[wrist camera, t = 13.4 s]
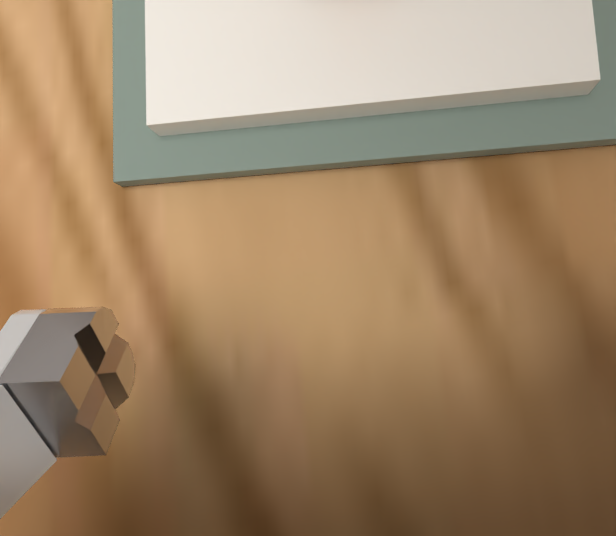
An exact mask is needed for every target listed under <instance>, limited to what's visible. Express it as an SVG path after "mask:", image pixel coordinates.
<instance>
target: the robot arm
mask: <svg viewBox="0 0 616 536" xmlns="http://www.w3.org/2000/svg"><path fill="white" fill-rule="evenodd" d="M118 325H119V323H118V321H117V319H116V317H115V315H114V314H113V312H112V310H111V309H108V308H105V307H85V308H53V309H47V310H46V309H42V310H20V311H18V312H16V313H14V314H13V315H11V317H10V318H9V319H8V321H7V322H6V324H5V325H4V327H3V328H2V330H1V331H0V519H1V518H2V517H3V516H4V515H5V514H6V512H7V511H8V510H9V509H10V508H11V507H12V506H13V505H14V504H15V503H16V502H17V501H18V500H19V499H20V498H21V497H22V496H23V495H24V494H25V493H26V492H27V491H28V490H29V489H30V488H31V487H32V486H33V485H34V484H35V483H36V481H37V480H38V479H39V478H40V477H41V476H42V475H43V474H44V473H45V472H46V471H47V470H48V469H49V468H50V467H51V466H52V465H53V464H54V463H55V462H56V461H57V459H56V457H76V456H98V455H106V454H107V452H108V449H109V447H110V444H111V442H112V439H113V437H114V434H115V431H116V429H117V426H118V424H119V421H120V419H119V416H118V414H117V411H116V408H117V407H118V406H120V405H121V404H122V403H123V402H124V401H125V400H126V399H128V398H129V396H130V393H131V390H132V387H133V385H134V378H135V361H134V356H133V352H132V350H131V348H130V346H129V344H128V342H126V341H125V340H123V339H122V338H120V337H119V336H118V335H116V334H115V332H116V330H117V327H118Z"/></svg>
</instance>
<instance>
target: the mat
mask: <svg viewBox="0 0 616 536" xmlns="http://www.w3.org/2000/svg"><path fill="white" fill-rule="evenodd" d="M592 6H593V15H594V24H595V33H596V42H597V51H598V61H599V70H600V79H601V80H600V81H599V82H598V83H597V84H596V86H595V87H594V88H593V89H592V90H591V92H590V93H589V94H588V95H579V96H569V97H559V98H548V99H538V100H528V101H518V102H507V103H497V104H487V105H476V106H466V107H456V108H446V109H435V110H425V111H415V112H404V113H394V114H384V115H374V116H363V117H353V118H343V119H333V120H322V121H312V122H302V123H291V124H281V125H271V126H261V127H250V128H240V129H230V130H219V131H209V132H199V133H189V134H178V135H168V136H159V135H157V134H156V133H155V132H154V131H153V130H151V129H150V128H149V127H148V126H147V125H146V56H145V0H113V182H115V183H116V184H118V185H120V186H122V187H123V186H135V185H147V184H159V183H170V182H182V181H194V180H206V179H217V178H229V177H241V176H253V175H264V174H276V173H288V172H300V171H311V170H323V169H335V168H347V167H358V166H370V165H382V164H394V163H405V162H417V161H429V160H441V159H452V158H464V157H476V156H488V155H499V154H511V153H523V152H535V151H547V150H558V149H570V148H582V147H594V146H605V145H616V0H592Z"/></svg>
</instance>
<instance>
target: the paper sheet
mask: <svg viewBox="0 0 616 536" xmlns="http://www.w3.org/2000/svg"><path fill="white" fill-rule="evenodd" d="M145 56H146V125H147V126H148V127H149V128H150V129H151V130H153V131H154V132H155V133H156V134H157V135H159V136H168V135H178V134H189V133H199V132H209V131H219V130H230V129H240V128H250V127H261V126H271V125H281V124H291V123H302V122H312V121H322V120H333V119H343V118H353V117H363V116H374V115H384V114H394V113H404V112H415V111H425V110H435V109H446V108H456V107H466V106H476V105H487V104H497V103H507V102H518V101H528V100H538V99H548V98H559V97H569V96H579V95H588V94H589V93H590V92H591V90H592V89H593V88H594V87H595V86H596V84H597V83H598V82H599V81H600V80H601V79H600V70H599V61H598V51H597V42H596V33H595V24H594V15H593V6H592V0H145Z"/></svg>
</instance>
